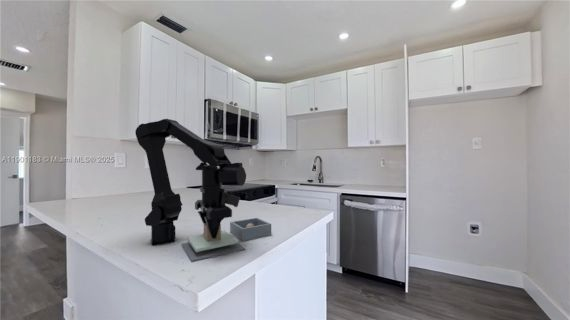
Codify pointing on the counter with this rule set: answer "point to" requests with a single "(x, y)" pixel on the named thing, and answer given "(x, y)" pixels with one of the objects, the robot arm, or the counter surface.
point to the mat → (210, 251)
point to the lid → (211, 240)
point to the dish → (250, 229)
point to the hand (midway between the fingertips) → (212, 236)
